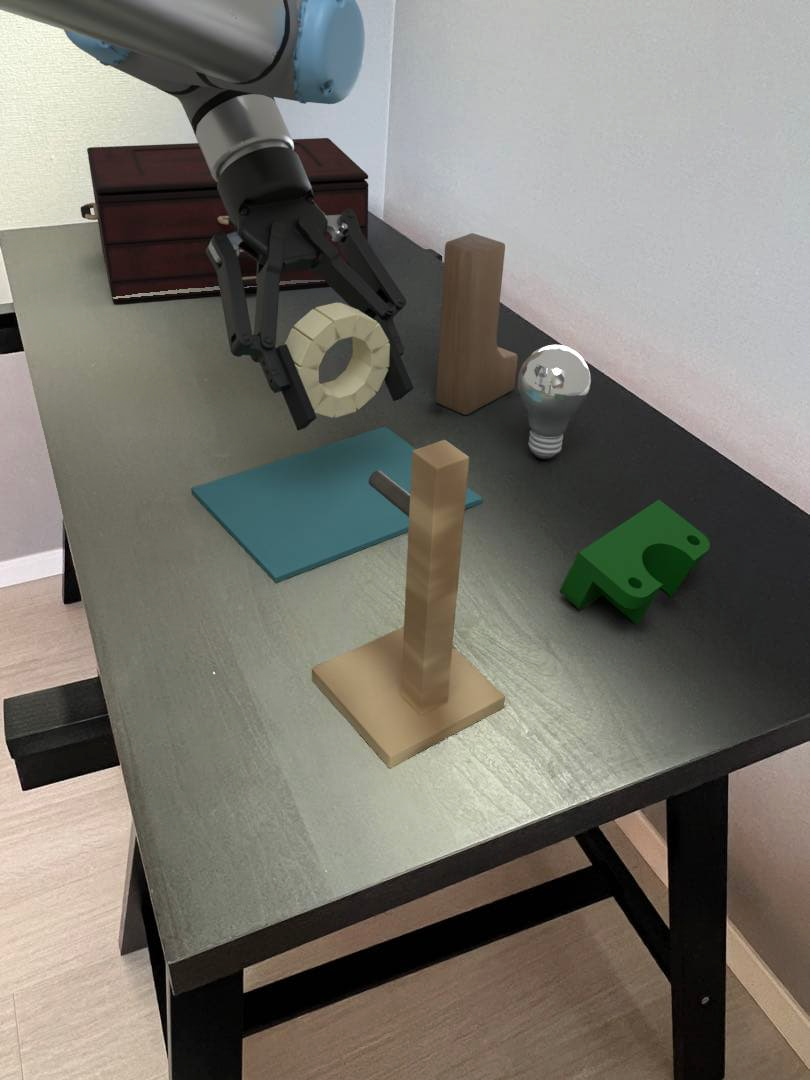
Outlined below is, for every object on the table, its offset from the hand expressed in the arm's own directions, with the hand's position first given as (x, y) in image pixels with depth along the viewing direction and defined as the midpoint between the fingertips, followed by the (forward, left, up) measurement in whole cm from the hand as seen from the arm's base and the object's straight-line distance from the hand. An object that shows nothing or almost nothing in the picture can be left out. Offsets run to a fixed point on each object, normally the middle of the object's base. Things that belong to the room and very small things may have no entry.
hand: (356, 408), depth 80 cm
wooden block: (+19, +19, -11) cm, 29 cm away
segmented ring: (-1, +3, -1) cm, 3 cm away
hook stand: (-2, -23, -11) cm, 25 cm away
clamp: (+19, -17, -11) cm, 28 cm away
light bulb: (+21, +5, -11) cm, 24 cm away
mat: (-1, +3, -11) cm, 11 cm away
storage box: (-1, +63, -11) cm, 64 cm away
